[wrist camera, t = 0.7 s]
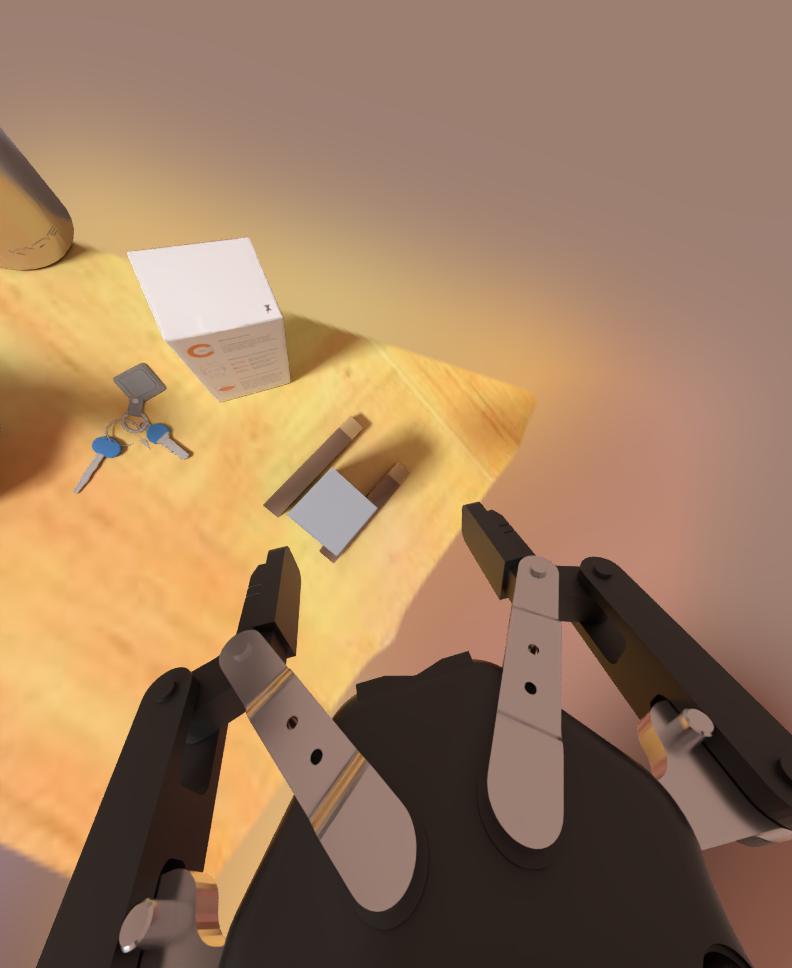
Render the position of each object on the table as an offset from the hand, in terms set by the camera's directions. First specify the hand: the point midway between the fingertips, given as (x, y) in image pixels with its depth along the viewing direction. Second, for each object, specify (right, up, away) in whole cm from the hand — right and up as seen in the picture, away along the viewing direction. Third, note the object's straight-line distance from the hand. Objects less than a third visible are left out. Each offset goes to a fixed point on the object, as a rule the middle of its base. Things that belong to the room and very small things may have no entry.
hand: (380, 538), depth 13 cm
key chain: (-25, +7, +17) cm, 31 cm away
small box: (-16, +16, +19) cm, 30 cm away
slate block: (-8, 0, +21) cm, 23 cm away
